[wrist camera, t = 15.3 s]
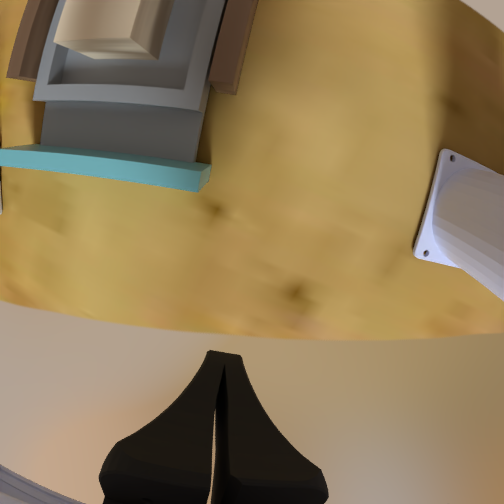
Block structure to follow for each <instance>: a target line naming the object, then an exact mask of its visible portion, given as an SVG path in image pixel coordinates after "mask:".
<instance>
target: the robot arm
mask: <svg viewBox="0 0 504 504" xmlns="http://www.w3.org/2000/svg"><path fill="white" fill-rule="evenodd" d="M451 155H452V157H453V159H452V161H451V160H450V156H451ZM425 250H427V252H426V254H424V255H423V252H424V251H425ZM413 254H414V256H415V257H417V258H419V259H423V260H427V261H432V262H436V263H440V264H445V265H449V266H453V267H457V268H461V269H463V270H464V271H465V272H467V273H468V274H469V275H471V276H472V277H473V278H475V279H476V280H477V281H479V282H480V283H481V284H483V285H484V286H485V287H486V288H488V289H489V290H490V291H491V292H493V293H494V294H495V295H497V296H498V297H499V298H500V299H502V300H503V301H504V175H501V174H498V173H497V172H495V171H493V170H491V169H489V168H487V167H485V166H483V165H481V164H479V163H477V162H475V161H473V160H471V159H469V158H467V157H465V156H462V155H460V154H458V153H456V152H454V151H452V150H449V149H442V150H441V151H440V154H439V158H438V163H437V167H436V171H435V175H434V179H433V183H432V187H431V191H430V195H429V199H428V202H427V206H426V209H425V213H424V216H423V220H422V223H421V226H420V230H419V233H418V236H417V239H416V242H415V245H414V248H413ZM214 413H215V419H216V420H215V437H216V438H215V439H216V440H215V442H216V443H215V445H216V453H215V467H214V477H213V487H212V496H211V504H324V503H325V502H326V501H327V499H328V497H329V496H328V488H327V484H326V481H325V478H324V476H323V473H322V471H321V469H319V468H318V467H317V466H316V465H314V464H313V463H311V462H310V461H309V460H308V459H306V458H305V457H304V456H303V455H301V454H300V453H299V452H298V451H297V450H296V449H295V448H294V447H293V446H292V445H291V444H290V443H289V441H288V440H287V439H286V438H285V437H284V436H283V435H282V434H281V433H280V431H278V429H277V427H276V426H275V425H274V424H273V422H272V421H271V420H270V418H269V416H268V415H267V414H266V412H265V410H264V409H263V407H262V405H261V403H260V402H259V400H258V398H257V396H256V394H255V392H254V390H253V388H252V385H251V383H250V381H249V378H248V376H247V373H246V370H245V367H244V364H243V360H242V357H241V356H240V355H237V354H230V353H224V352H218V351H213V350H210V351H208V352H207V354H206V357H205V359H204V361H203V363H202V365H201V367H200V369H199V370H198V372H197V373H196V375H195V376H194V378H193V379H192V381H191V382H190V383H189V385H188V386H187V387H186V388H185V390H184V391H183V392H182V393H181V395H180V396H179V397H178V398H177V399H176V400H175V401H174V402H173V403H172V404H171V405H170V406H169V407H168V408H167V409H166V410H165V411H163V412H162V413H161V414H160V415H159V416H158V417H156V418H155V419H154V420H153V421H151V422H150V423H148V424H147V425H146V426H144V427H143V428H141V429H140V430H138V431H137V432H135V433H133V434H131V435H130V436H128V437H126V438H124V439H122V440H120V441H118V442H117V443H116V444H115V446H114V447H113V448H112V449H111V451H110V452H109V454H108V456H107V457H106V459H105V461H104V463H103V466H102V469H101V471H100V474H99V482H100V485H101V487H102V490H103V493H104V495H105V498H104V501H103V504H207V500H208V496H209V492H210V487H211V474H212V443H213V426H214ZM0 504H85V503H82V502H79V501H77V500H74V499H71V498H69V497H66V496H64V495H61V494H59V493H57V492H54V491H52V490H50V489H48V488H45V487H43V486H41V485H39V484H37V483H34V482H33V481H31V480H28V479H26V478H24V477H22V476H21V475H18V474H17V473H15V472H13V471H11V470H9V469H8V468H6V467H4V466H2V465H0Z"/></svg>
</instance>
